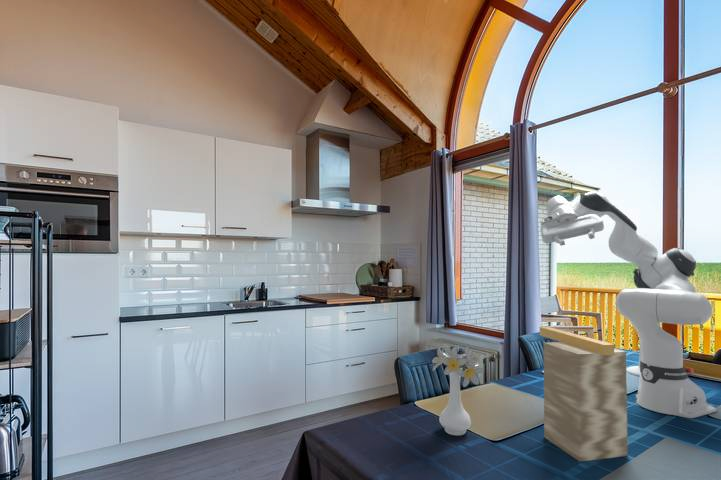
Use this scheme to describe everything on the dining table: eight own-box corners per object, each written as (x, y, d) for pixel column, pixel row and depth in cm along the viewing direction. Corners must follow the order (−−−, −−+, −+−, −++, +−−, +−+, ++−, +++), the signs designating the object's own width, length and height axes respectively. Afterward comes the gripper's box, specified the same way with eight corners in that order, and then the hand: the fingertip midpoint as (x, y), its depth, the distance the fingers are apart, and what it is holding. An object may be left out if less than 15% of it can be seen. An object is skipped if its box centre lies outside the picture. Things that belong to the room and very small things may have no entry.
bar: (548, 334, 121) (548, 326, 121) (614, 354, 98) (614, 344, 98) (539, 335, 120) (539, 326, 121) (604, 355, 97) (603, 345, 97)
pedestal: (587, 432, 113) (586, 340, 113) (627, 455, 100) (625, 351, 101) (544, 437, 110) (543, 342, 110) (579, 461, 97) (578, 354, 98)
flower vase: (462, 450, 102) (461, 357, 103) (421, 424, 118) (421, 343, 118) (497, 440, 108) (496, 352, 109) (453, 416, 123) (453, 339, 124)
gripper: (597, 221, 147) (611, 240, 136) (539, 235, 154) (547, 254, 142) (595, 206, 145) (609, 225, 133) (536, 221, 151) (544, 240, 139)
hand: (577, 240), depth 138 cm, fingers open, 8 cm apart
